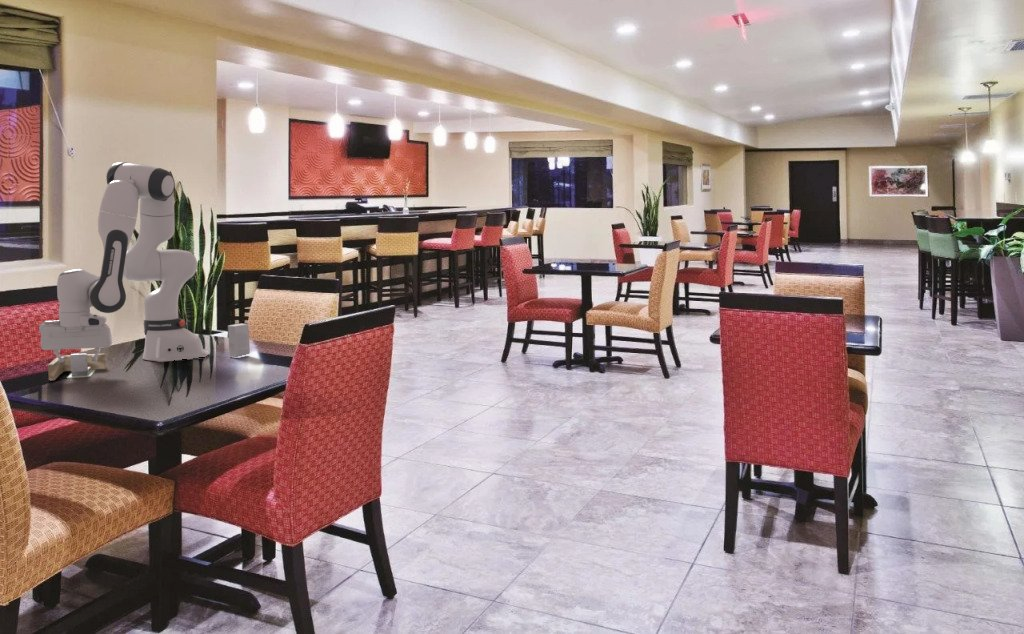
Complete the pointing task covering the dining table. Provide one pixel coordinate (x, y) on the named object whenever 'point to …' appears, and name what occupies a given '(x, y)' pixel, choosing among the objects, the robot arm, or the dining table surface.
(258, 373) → the dining table surface
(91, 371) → the pad
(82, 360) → the bracket
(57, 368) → the tan bent bar
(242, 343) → the skincare box
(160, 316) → the robot arm
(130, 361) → the dining table surface
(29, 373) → the dining table surface
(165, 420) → the dining table surface
